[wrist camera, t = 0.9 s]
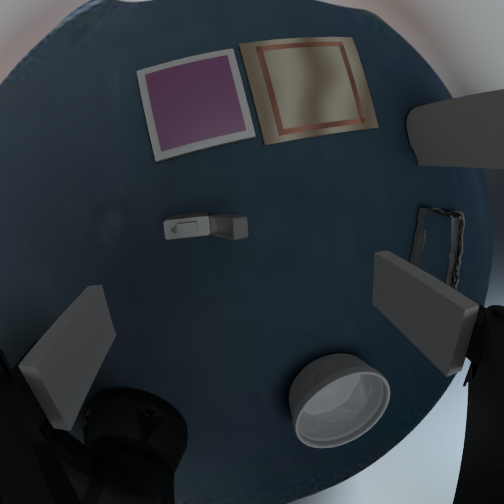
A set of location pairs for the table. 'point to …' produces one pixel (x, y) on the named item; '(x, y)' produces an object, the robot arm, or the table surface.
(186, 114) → the ink pad
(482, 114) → the paper towel roll
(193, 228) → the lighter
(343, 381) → the ramekin
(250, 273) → the table surface
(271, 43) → the marked board
